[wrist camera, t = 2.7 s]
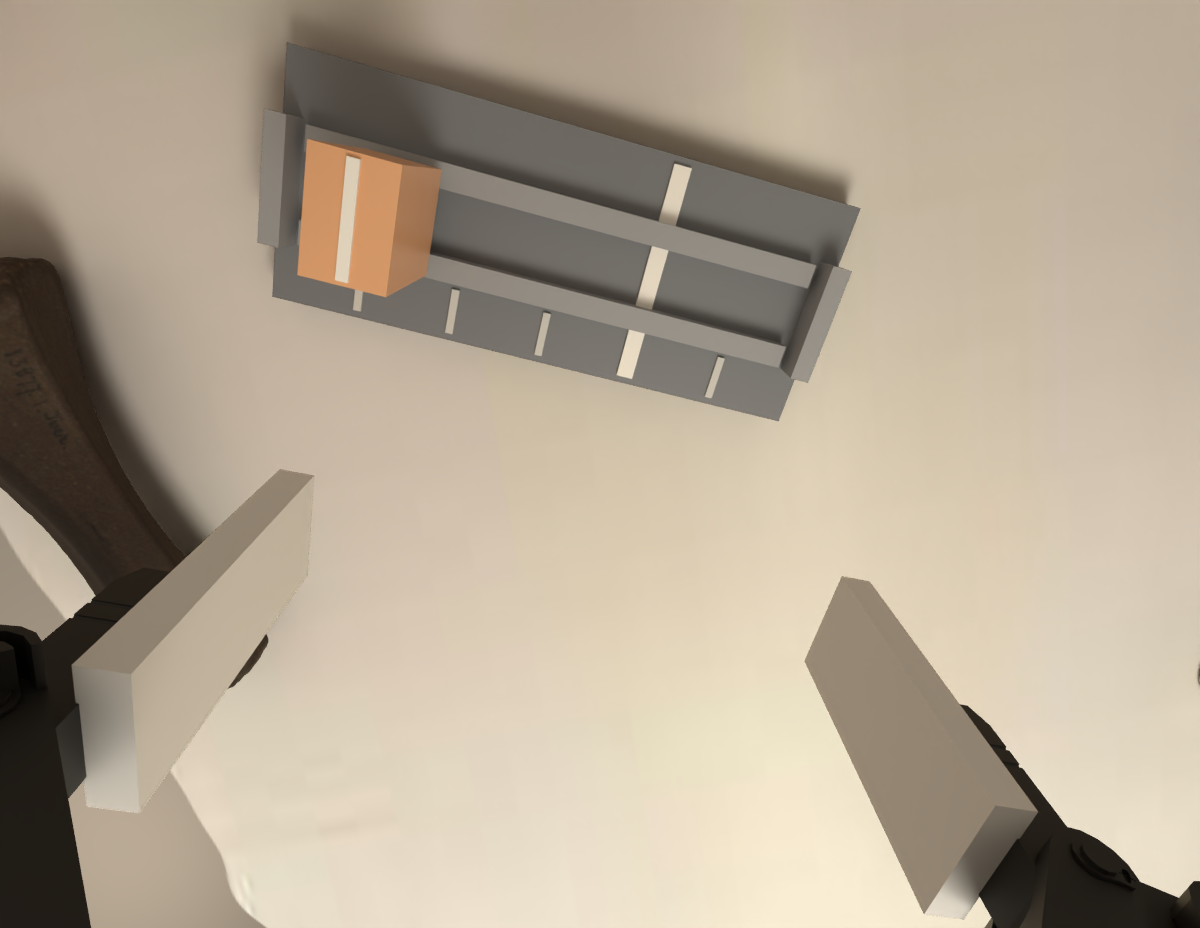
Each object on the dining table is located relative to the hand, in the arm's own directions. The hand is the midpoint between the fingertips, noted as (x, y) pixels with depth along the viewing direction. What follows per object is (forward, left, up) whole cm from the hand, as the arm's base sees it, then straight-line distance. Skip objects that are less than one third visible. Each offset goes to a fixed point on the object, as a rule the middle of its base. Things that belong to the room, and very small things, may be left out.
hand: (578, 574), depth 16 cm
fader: (-5, -11, -22) cm, 25 cm away
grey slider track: (-5, -3, -24) cm, 25 cm away
